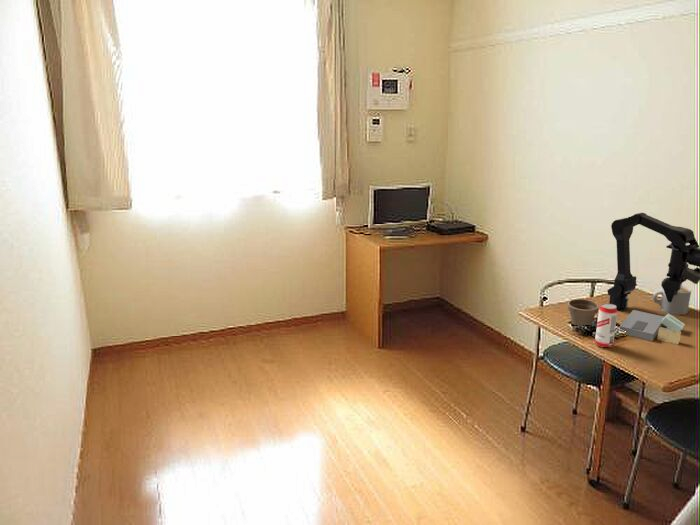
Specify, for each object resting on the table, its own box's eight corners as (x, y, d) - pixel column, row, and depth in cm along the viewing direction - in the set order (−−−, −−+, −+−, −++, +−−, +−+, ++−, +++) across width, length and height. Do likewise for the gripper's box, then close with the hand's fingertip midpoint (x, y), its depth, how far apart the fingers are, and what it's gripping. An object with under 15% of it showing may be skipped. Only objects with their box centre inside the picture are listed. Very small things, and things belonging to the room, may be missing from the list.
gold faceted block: (678, 344, 201) (680, 332, 199) (657, 339, 205) (659, 327, 203) (679, 342, 202) (681, 330, 201) (658, 337, 207) (660, 325, 205)
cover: (660, 322, 212) (666, 316, 210) (663, 318, 215) (668, 312, 213) (677, 334, 209) (683, 327, 207) (679, 329, 212) (685, 323, 210)
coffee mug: (687, 308, 232) (691, 286, 228) (687, 316, 224) (691, 294, 220) (652, 302, 238) (655, 281, 235) (650, 310, 230) (654, 288, 227)
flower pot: (580, 335, 210) (582, 311, 207) (559, 324, 220) (561, 301, 217) (602, 329, 214) (605, 306, 211) (581, 319, 224) (583, 296, 221)
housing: (618, 333, 211) (619, 325, 210) (632, 316, 225) (633, 309, 224) (652, 341, 203) (653, 333, 202) (664, 323, 218) (665, 316, 217)
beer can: (605, 350, 198) (610, 310, 193) (590, 343, 203) (595, 304, 198) (616, 346, 200) (622, 307, 195) (602, 340, 206) (607, 301, 201)
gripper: (698, 271, 195) (691, 311, 200) (707, 258, 209) (700, 296, 213) (664, 266, 202) (657, 304, 207) (674, 253, 215) (668, 290, 220)
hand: (672, 298), depth 212 cm, fingers open, 9 cm apart
